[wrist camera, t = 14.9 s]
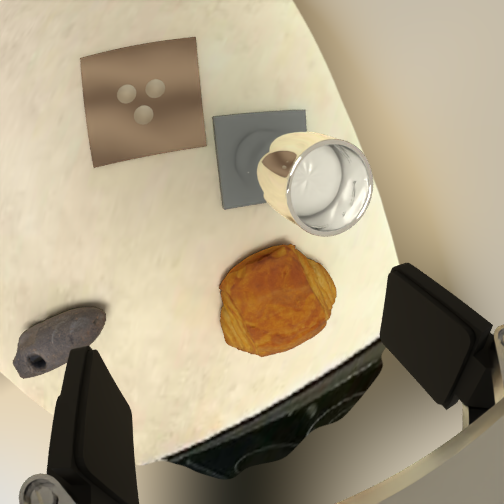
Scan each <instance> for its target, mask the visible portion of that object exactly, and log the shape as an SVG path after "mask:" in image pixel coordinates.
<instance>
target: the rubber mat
mask: <svg viewBox="0 0 504 504" xmlns="http://www.w3.org/2000/svg"><path fill="white" fill-rule="evenodd" d="M213 126H214V135H215V145H216V154H217V163H218V172H219V180H220V189H221V197H222V206H223V208H224V210H225V209H231V208H237V207H243V206H249V205H255V204H261V203H267V202H266V200H265V199H264V197H263V196H262V194H261V193H260V191H259V189H258V187H257V186H255V185H252V184H250V183H248V182H247V181H245V180H244V179H243V178H242V177H241V176H240V174H239V172H238V170H237V168H236V163H235V156H236V151H237V148H238V146H239V144H240V143H241V141H242V140H243V139H244V138H245V137H246V136H248V135H249V134H251V133H253V132H256V131H262V130H265V131H271V132H274V133H276V134H278V135H280V134H283V133H287V132H294V131H307V129H306V113H305V110H287V111H270V112H256V113H244V114H233V115H224V116H215V117H213Z"/></svg>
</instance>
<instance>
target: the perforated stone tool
mask: <svg viewBox="0 0 504 504" xmlns="http://www.w3.org/2000/svg"><path fill="white" fill-rule="evenodd" d="M105 321H106V314H105V312H104V311H103V310H101V309H98V308H94V307H81V308H76V309H72V310H69V311H66V312H63V313H61V314H58V315H56V316H53V317H51V318H49V319H47V320H45V321H44V322H42V323H38V324H36V325H34V326H33V327H31V328H29V329H28V330H26V331H25V332H24V333H23V334H22V335H21V336H20V338H19V343H18V348H17V353H16V356H15V358H14V360H13V365H14V366H15V368H16V370H17V372H18V373H19V375H20V377H21V378H23V379H24V378H30V377H34V376H38V375H41V374H44V373H46V372H49V371H51V370H53V369H55V368H57V367H59V366H61V365H63V364H65V363H67V362H68V357H69V353H70V350H71V349H74V348H79V347H84V346H89V345H90V344H91V343H92V342H94V340H95V339H96V338H97V337H98V336H99V334H100V333H101V331H102V329H103V326H104V325H105Z"/></svg>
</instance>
